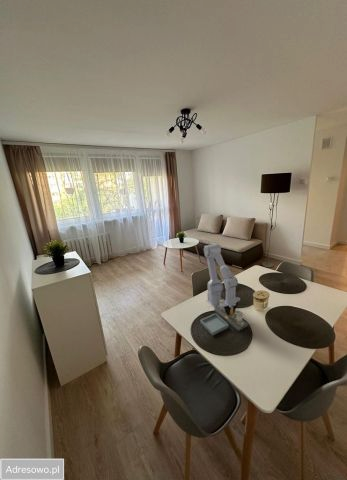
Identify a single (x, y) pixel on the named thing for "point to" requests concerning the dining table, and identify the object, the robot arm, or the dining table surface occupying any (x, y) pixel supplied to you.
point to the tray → (214, 324)
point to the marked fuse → (231, 311)
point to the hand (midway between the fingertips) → (230, 313)
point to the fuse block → (231, 319)
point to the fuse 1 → (221, 303)
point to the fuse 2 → (239, 317)
